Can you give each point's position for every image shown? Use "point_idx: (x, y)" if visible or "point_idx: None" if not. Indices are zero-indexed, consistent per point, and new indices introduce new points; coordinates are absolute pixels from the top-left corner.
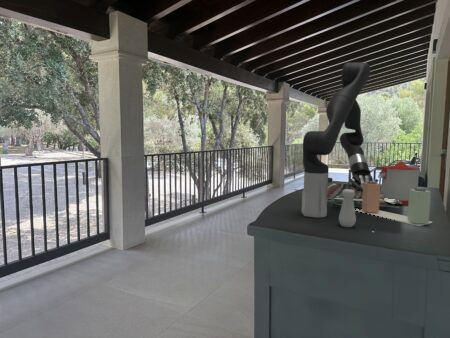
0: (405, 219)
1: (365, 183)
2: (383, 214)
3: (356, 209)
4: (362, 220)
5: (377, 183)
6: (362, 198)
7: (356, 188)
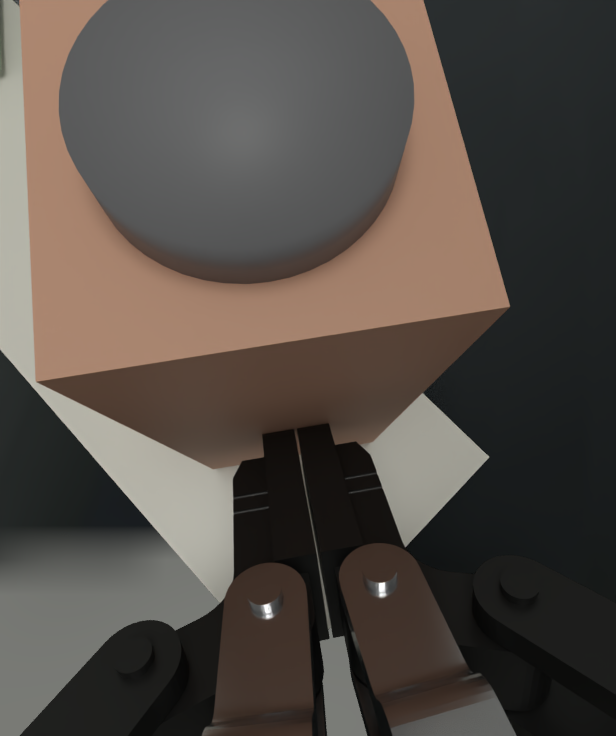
0: (2, 120)
1: (453, 128)
2: None
3: (433, 478)
4: None
5: (54, 142)
6: (398, 412)
7: (570, 706)
